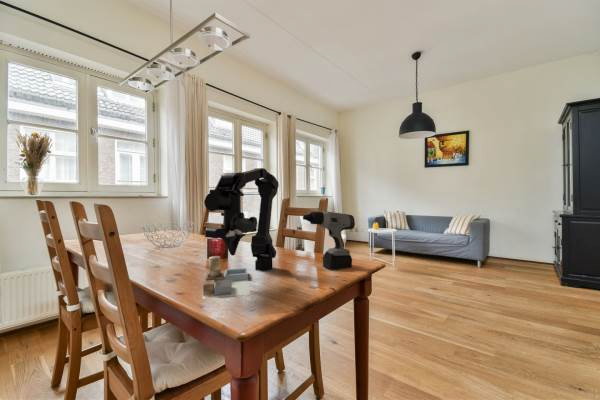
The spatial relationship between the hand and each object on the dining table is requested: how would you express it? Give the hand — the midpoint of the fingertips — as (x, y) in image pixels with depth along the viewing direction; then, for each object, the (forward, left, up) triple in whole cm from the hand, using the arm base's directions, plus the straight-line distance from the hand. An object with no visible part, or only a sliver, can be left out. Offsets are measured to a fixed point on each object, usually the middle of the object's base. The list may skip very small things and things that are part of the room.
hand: (232, 255), depth 90 cm
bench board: (+2, -2, -11) cm, 12 cm away
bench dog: (+7, +6, -10) cm, 14 cm away
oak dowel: (+6, -8, -10) cm, 14 cm away
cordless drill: (-41, -15, -12) cm, 45 cm away
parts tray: (-1, -8, -10) cm, 13 cm away
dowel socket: (+6, -8, -10) cm, 14 cm away
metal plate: (+3, +6, -10) cm, 12 cm away
